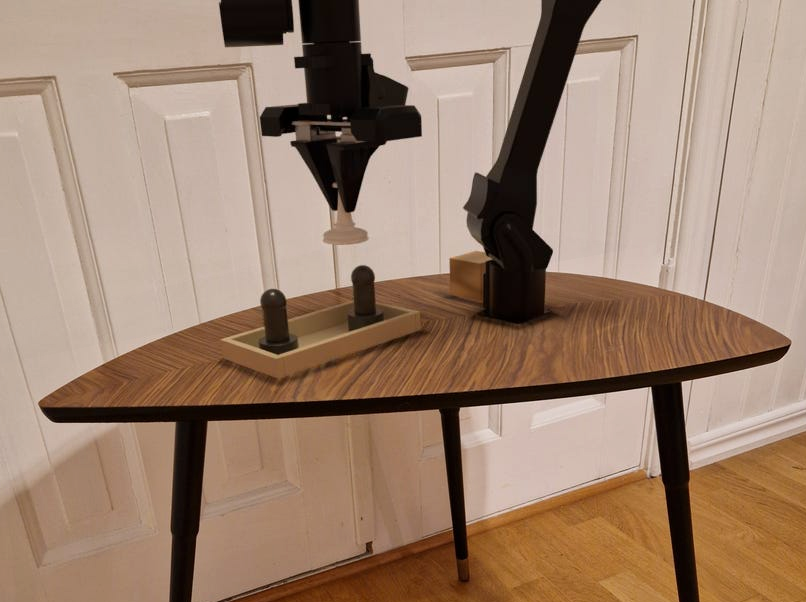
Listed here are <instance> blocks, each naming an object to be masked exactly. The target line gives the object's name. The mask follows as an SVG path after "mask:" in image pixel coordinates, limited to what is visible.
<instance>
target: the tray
mask: <svg viewBox="0 0 806 602" xmlns="http://www.w3.org/2000/svg"><path fill="white" fill-rule="evenodd" d="M375 301H376V308H380V309H382V310H383V313H384V321H381V322H378V323H375V324H372V325H369V326H366V327H363V328H360V329H357V330H354V331H351V332H349V329H348V316H347V313H348V311H350V310H352V309H354V299H353V300H350V301H346V302H343V303H340V304H336V305H333V306H328V307H326V308H323V309H318V310H315V311H312V312H308V313H305V314H302V315H298V316H295V317H292V318H291V317H290V318H288V327H289V334H294V335H296V336H297V337H298V345H299V348H298V349H295V350H292V351H289V352H286V353H283V354H280V355H276V354H274V353H271V352H268V351H265V350H262V349H259V344H258V340H259V339H260V338H262V337H264V336H265V328H264V326H261V327H258V328H255V329H250V330H247V331H244V332H241V333H238V334H234V335H230V336H228V337H224V338H220V340H219V341H220V348H221V355H222V358H223V359H224V360H227V361H228V362H232V363H234V364H237V365H239V366H242V367H246V368H248V369H250V370H253V371H256V372H258V373H260V374H261V373H262V374H264V375H266V376H270V377H272V378H275V379H277V380H280V379H282V378H285V377H288V376H291V375H294V374H297V373H299V372H303V371H306V370H309V369H311V368H314V367H317V366H320V365H323V364H326V363H329V362H332V361H335V360H337V359H340V358H343V357H346V356H349V355H352V354H355V353H358V352H360V351H363V350H367V349H369V348H372V347H375V346H378V345H381V344H383V343H386V342H389V341H392V340H394V339H399V338H401V337H404V336H406V335H409V334H412V333H416V332H418V331H421V327H422V326H421V312H420V311H419V310H415V309H411V308H406V307H402V306H398V305H394V304H389V303H386V302H380V301H377V300H375Z"/></svg>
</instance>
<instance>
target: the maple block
mask: <svg viewBox="0 0 806 602" xmlns="http://www.w3.org/2000/svg"><path fill="white" fill-rule="evenodd" d="M489 260H492V259H491V258H490V257H487V256H486V254H485V251H480V250H474V251H470V252H467V253H463V254H460V255H456V256H452V257H449V295H450V296H455V297H458V298H459V297H460V298H464V299H469V300H474V301H477V302H478V301H479V302H481V301H483V274H484V273H486V261H489Z"/></svg>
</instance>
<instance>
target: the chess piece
mask: <svg viewBox="0 0 806 602" xmlns="http://www.w3.org/2000/svg"><path fill="white" fill-rule="evenodd" d="M337 142H341V139H337ZM332 187H334V188H338V187H337V184H336V182H335V183H333V185H332ZM336 212H337V213H336V223H334V224H333V226H335V227H334V228H331V229H329V230H326V231H325V232H324V233H323V234H322V237H323V239H322V243H324V244H327V245H333V246H335V245H336V246H346V245H347V246H348V245H356V244H363V243H364V242H367V241H369V240H370V238H369V236H368V235H369V233H368V231H367V230H366V229H364V228H361V227H357V226H356V225H357V224H356V222H354V221H353V217H352V212H350V213H346V212H345V210H344V207H343V205H342V202H341V199H340V195H339V191H338V210H337V211H336Z"/></svg>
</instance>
